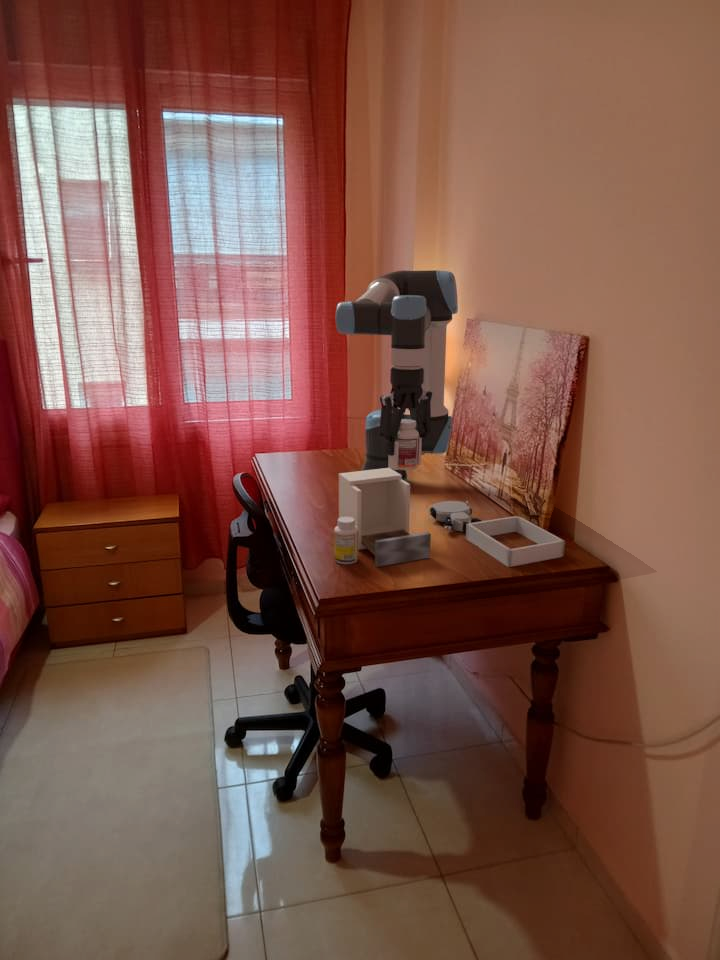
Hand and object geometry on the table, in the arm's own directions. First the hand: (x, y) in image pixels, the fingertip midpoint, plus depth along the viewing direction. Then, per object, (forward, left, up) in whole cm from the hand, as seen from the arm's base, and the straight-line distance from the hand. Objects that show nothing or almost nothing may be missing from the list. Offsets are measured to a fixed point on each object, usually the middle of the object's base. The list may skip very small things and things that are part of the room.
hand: (404, 465), depth 160 cm
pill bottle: (0, 0, -1) cm, 1 cm away
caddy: (+3, -10, -21) cm, 24 cm away
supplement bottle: (+15, +1, -21) cm, 26 cm away
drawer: (+3, +2, -21) cm, 21 cm away
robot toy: (-21, -10, -22) cm, 31 cm away
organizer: (-26, +9, -21) cm, 35 cm away
